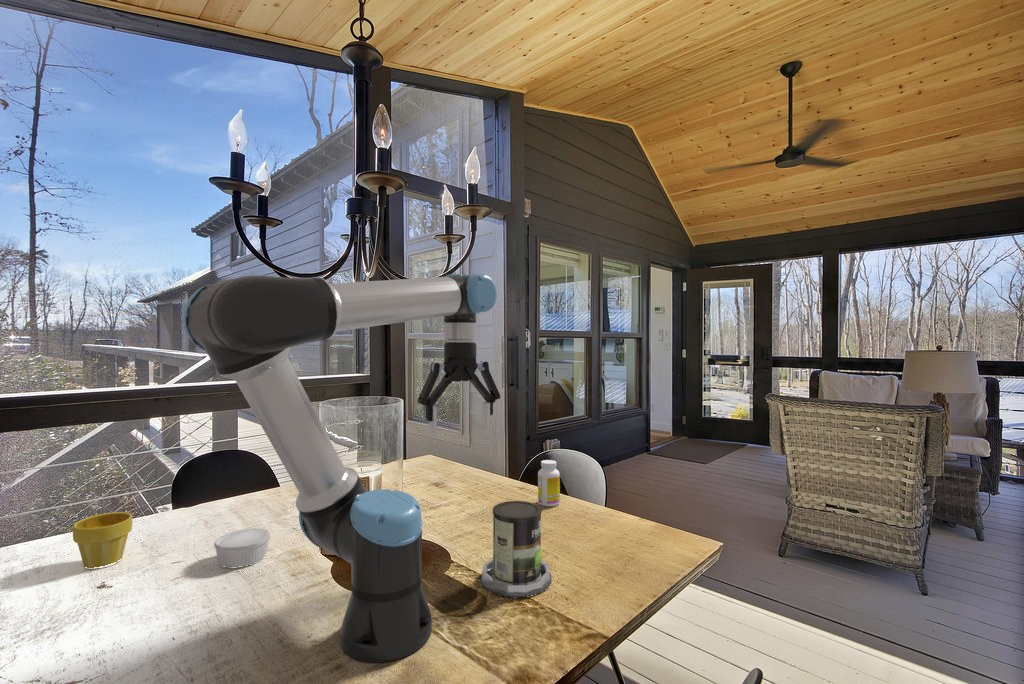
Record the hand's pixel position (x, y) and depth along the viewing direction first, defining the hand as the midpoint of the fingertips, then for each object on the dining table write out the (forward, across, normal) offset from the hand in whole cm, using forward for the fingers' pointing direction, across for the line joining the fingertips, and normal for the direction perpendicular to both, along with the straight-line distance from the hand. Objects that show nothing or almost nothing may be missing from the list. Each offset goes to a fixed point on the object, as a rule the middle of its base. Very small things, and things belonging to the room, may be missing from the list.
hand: (460, 432), depth 116 cm
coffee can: (+28, -5, +17) cm, 33 cm away
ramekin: (+29, +44, -23) cm, 57 cm away
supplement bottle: (+29, -38, -18) cm, 51 cm away
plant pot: (+29, +71, -37) cm, 85 cm away
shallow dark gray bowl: (+29, -5, +17) cm, 34 cm away
